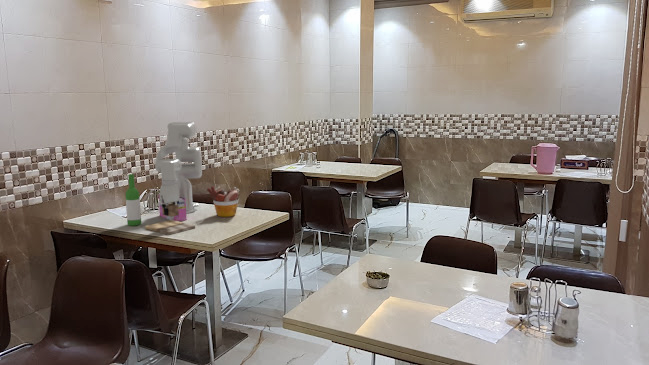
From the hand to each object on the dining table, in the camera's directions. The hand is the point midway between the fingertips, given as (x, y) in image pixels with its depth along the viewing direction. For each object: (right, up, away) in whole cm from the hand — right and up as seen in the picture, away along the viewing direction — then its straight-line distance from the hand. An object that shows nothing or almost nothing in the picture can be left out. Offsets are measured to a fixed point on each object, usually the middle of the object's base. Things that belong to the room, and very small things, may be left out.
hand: (170, 213), depth 287 cm
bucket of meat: (+25, -3, +34) cm, 42 cm away
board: (+4, -9, -2) cm, 10 cm away
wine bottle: (-25, -7, +12) cm, 28 cm away
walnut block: (0, -1, 0) cm, 1 cm away
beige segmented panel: (-5, -8, +5) cm, 11 cm away
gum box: (-7, -5, +28) cm, 30 cm away
